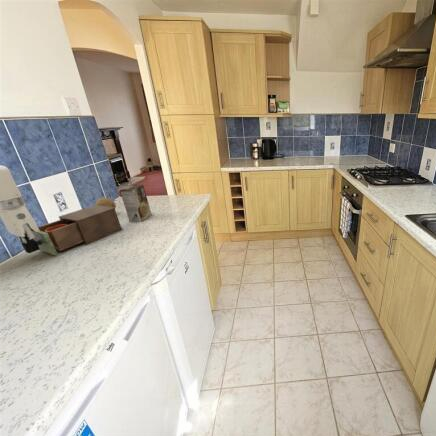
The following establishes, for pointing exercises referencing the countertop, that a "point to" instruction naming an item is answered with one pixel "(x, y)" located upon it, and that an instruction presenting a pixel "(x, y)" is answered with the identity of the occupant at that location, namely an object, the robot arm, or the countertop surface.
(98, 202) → the natural sponge
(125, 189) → the coffee box
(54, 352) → the countertop surface
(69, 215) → the cabinet
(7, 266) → the countertop surface
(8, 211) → the robot arm
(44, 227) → the drawer
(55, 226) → the ramekin
